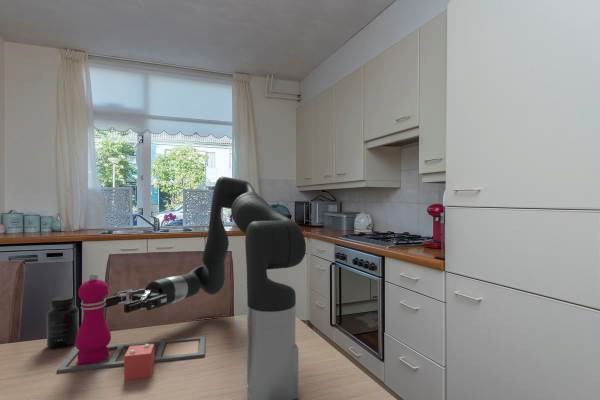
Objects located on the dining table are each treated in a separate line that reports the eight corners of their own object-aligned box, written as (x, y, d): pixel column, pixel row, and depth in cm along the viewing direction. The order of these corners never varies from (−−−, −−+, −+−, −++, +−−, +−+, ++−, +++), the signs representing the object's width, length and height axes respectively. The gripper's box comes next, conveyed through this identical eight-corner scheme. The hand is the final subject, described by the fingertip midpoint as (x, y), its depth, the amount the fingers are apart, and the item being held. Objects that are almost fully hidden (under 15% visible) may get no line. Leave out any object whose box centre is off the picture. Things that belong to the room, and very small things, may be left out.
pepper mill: (94, 367, 77) (94, 277, 77) (67, 364, 78) (67, 275, 78) (118, 353, 84) (118, 270, 84) (92, 350, 85) (92, 269, 85)
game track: (204, 338, 92) (204, 336, 92) (204, 356, 82) (204, 354, 82) (75, 351, 85) (75, 348, 85) (56, 372, 74) (56, 370, 74)
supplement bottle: (52, 340, 91) (52, 295, 91) (82, 337, 93) (82, 293, 93) (41, 351, 85) (41, 302, 85) (74, 347, 87) (74, 300, 87)
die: (154, 366, 77) (154, 341, 77) (150, 377, 72) (150, 350, 72) (129, 368, 76) (129, 343, 76) (124, 380, 71) (124, 353, 71)
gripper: (150, 275, 103) (96, 287, 89) (185, 280, 96) (132, 294, 82) (150, 300, 103) (96, 316, 89) (185, 307, 96) (132, 326, 82)
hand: (113, 306), depth 85 cm, fingers open, 8 cm apart
